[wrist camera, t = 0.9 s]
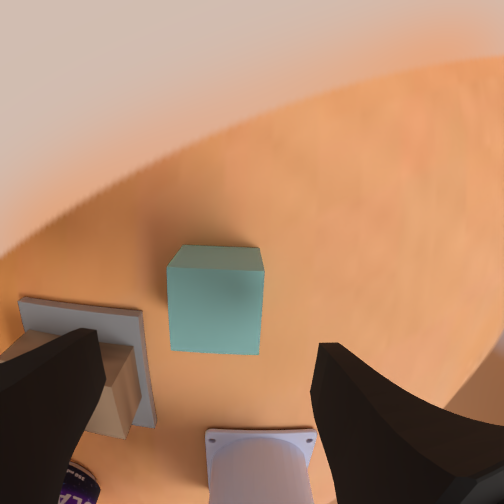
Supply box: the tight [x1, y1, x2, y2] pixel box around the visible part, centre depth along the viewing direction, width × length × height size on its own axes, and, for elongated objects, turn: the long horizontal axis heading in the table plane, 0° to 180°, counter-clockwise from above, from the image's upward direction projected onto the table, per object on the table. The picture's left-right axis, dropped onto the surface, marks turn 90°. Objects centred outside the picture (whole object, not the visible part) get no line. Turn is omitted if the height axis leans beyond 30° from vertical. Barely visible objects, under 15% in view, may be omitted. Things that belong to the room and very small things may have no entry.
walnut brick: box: [0, 329, 142, 440], centre depth 15 cm, size 8×4×4 cm, turn 87°
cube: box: [167, 245, 265, 355], centre depth 15 cm, size 4×4×4 cm
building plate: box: [18, 297, 157, 428], centre depth 18 cm, size 9×9×1 cm
